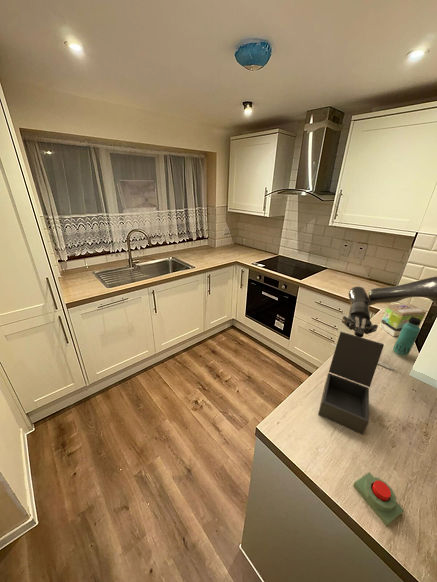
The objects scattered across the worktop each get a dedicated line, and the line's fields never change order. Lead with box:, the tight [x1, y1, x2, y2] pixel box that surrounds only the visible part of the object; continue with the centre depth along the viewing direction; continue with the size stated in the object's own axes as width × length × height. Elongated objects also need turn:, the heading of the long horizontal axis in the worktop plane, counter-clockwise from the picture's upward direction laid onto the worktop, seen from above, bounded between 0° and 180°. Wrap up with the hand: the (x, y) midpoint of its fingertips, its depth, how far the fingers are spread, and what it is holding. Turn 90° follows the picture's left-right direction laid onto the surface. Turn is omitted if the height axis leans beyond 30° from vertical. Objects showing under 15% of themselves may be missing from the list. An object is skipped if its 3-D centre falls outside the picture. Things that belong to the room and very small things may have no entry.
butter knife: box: [330, 342, 395, 371], centre depth 111 cm, size 1×27×3 cm
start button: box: [372, 480, 391, 501], centre depth 59 cm, size 4×4×2 cm
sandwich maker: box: [317, 372, 370, 436], centre depth 84 cm, size 16×14×6 cm
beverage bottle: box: [392, 317, 422, 357], centre depth 109 cm, size 6×7×20 cm
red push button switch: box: [352, 471, 405, 527], centre depth 60 cm, size 6×9×4 cm
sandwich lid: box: [328, 331, 385, 388], centre depth 88 cm, size 17×14×5 cm
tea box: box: [378, 303, 427, 337], centre depth 129 cm, size 15×10×15 cm, turn 102°
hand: (359, 335), depth 87 cm, fingers closed
